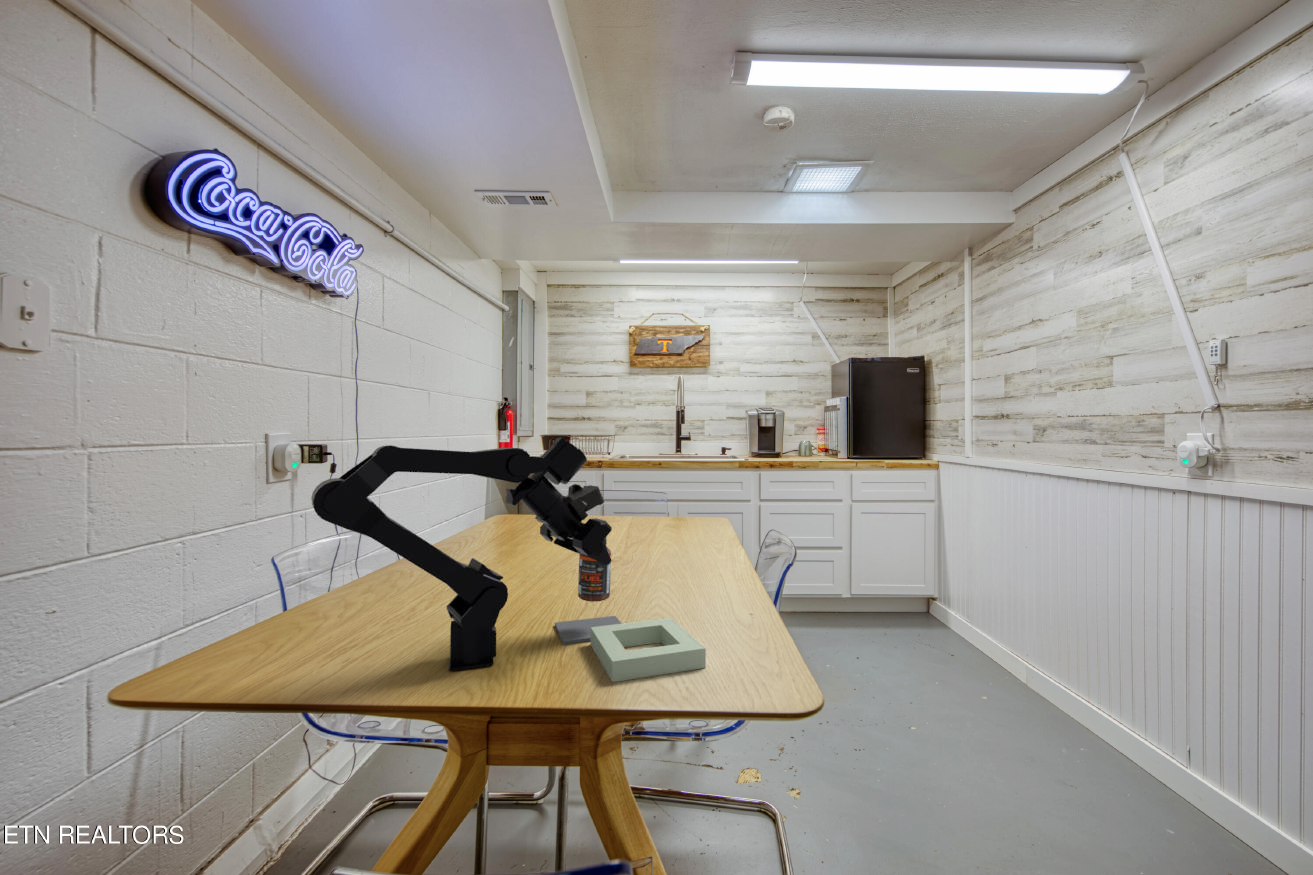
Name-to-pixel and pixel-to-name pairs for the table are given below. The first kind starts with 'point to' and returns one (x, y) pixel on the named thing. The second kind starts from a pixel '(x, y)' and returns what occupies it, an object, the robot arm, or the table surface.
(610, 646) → the square frame
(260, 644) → the table surface
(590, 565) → the supplement bottle
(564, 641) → the mat
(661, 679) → the table surface
